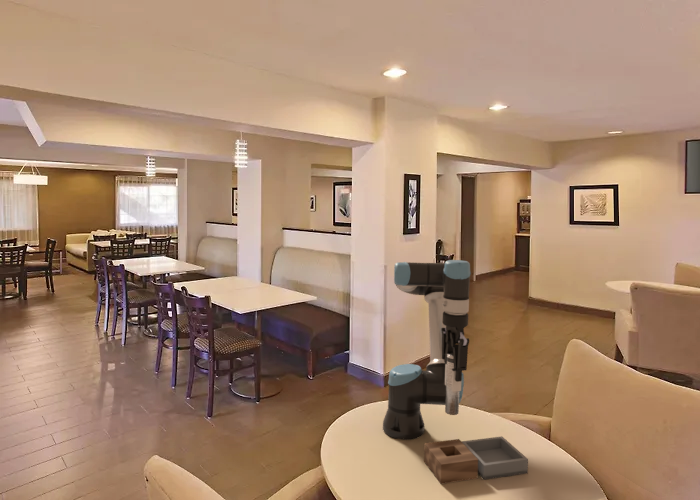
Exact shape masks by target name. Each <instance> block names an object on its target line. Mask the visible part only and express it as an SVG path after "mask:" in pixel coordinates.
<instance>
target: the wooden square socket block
mask: <svg viewBox="0 0 700 500" xmlns="http://www.w3.org/2000/svg"><path fill="white" fill-rule="evenodd" d="M461 441H462V440H460V438H457V439H449V440H447V439H446V440H443V441H442V440H440V441H431V442H426V443H425V442H424V446H423V447H424V450H423V451H424V453H423V461H424V463H425V464H426V466H427V468H428V469H429V470H430V472H431V473H432V475H434V477H435V479H436V480H437V481H438V482H439V483H440V485H443V484H450V483H455V482H462V481H470V480H475V479H478V475H479V474H478V459H477V458H476V457H475V456H474V454H473V453H472V452H471V451H470V450H469V449H468V448H467V447H466V446H465V445H464V444H463V443H462V442H461Z"/></svg>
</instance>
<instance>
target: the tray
mask: <svg viewBox="0 0 700 500" xmlns="http://www.w3.org/2000/svg"><path fill="white" fill-rule="evenodd" d="M460 441H461V442H462V443H463V444H464V445H465V446H466V447H467V448H468V449H469V450H470V451H471V452H472V453H473V454H474V456H475V457H476V458H477V459H478V475H479V476H480V477H481V479H482V480H491V479H492V480H493V479H497V478H499V479H500V478H505V477H510V476H511V477H512V476H518V475H519V476H520V475H525V474H528V473H529V472H528V470H529V458H527V456H525V455H524V453H522V452H521V451H520V450H518V448H516V447H515V446H514V445H512V443H510V442H509V441H508V440H507V439H506V438H505V437H503V436H502V435H501V436H495V437H487V438H479V439H470V440H463V441H462V440H460Z"/></svg>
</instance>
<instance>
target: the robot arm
mask: <svg viewBox="0 0 700 500" xmlns="http://www.w3.org/2000/svg"><path fill="white" fill-rule="evenodd" d="M471 274H472V272H471V263H470V262H469V261H467V260H463V259H462V260H460V259H448V260H446V261H445V262H442V263H441V262H408V261H403V262H398V261H397V262H395V263H394V269H393V283H394V285H395V286H396V288H397V289H399V291H401V292H403V293H406V294H410V295H414V296H424V297H423V298H424V299H423V300H424V301H425V302H426V303H427V304H428V329H429V330H428V331H429V333H428V334H429V360H430V361H429V363H428V364H427V365H426V367H425V368H426V370H423V369H422V367H421V366H420V365H418V364H413V363H405V364H398V365H396V366H394V367H392V368H391V370H390V371H389V374H388V381H387V384H388V395H387V397H388V398H387V400H388V401H387V402H388V403H387V409H386V412H385V415H384V418H383V421H382V431H383V430H384V431H383V432H384V433H385V434H386V435H387V436H389V437H390V438H394V439H398V440H402V441H403V440H406V441H407V440H408V441H409V440H410V441H411V440H416V439H419V438H421V437H422V436H423V435H424V434H425V423H424V420H423V419H424V418H423V415H422V411H421V405H436V406H437V405H439V406H445V403H446V374H447V354H448V353H453V357H454V369H452V391H453V392H454V391H459V404H461V401H462V398H463V394H464V385H465V384H464V383H465V379H464V378H465V377H464V376H465V375H464V372H465V371H467V368H468V367H467V366H468V351H469V344H470V338H468V337H467V338H466V336H465V330H464V329H465V328H467V327H468V326H469V314H468V313H469V311H470V310H469V309H470V287H471V286H470V283H471V279H470V278H471Z"/></svg>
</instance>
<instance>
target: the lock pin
mask: <svg viewBox="0 0 700 500" xmlns="http://www.w3.org/2000/svg"><path fill="white" fill-rule="evenodd" d="M452 369H454V357H453V353H448V354H447V374H446V403H445V405H444V406H445V409H444V412H445V414H448V415H449V416H456V415H459V412H460V411H459V410H460V403H459V391H454V392H453V391H452Z"/></svg>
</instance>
